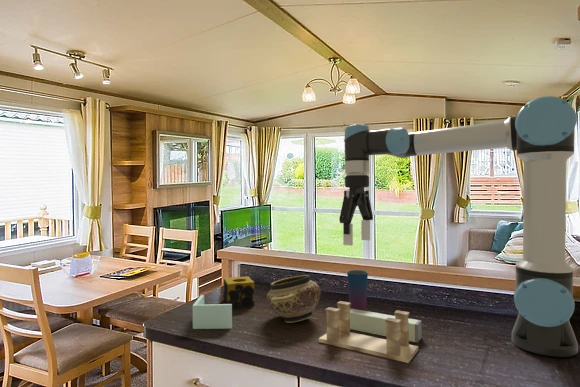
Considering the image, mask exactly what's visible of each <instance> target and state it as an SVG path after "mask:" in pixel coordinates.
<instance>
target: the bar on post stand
mask: <svg viewBox="0 0 580 387" xmlns="http://www.w3.org/2000/svg"><path fill="white" fill-rule="evenodd" d="M336 305H337V308H336V307H331V306H330V307H329V306H328V307H327V308H325V312H326V333H325V334H323V335H321V336H320V337H319V338H318V343H322V344H326V345H330V346H334V347H339V348H343V349H348V350H351V351H355V352H358V353H364V354H368V355H371V356H372V355H373V356H376V357H381V358H385V359H389V360H394V361H398V362H403V363H406V364H409V363H410V362H411V360H412V359H413V358H414V357H415V355H416V354H417V353H418V352H419V346H418V345H413V344H410V341H409V322H408V318H409V315H410V312H409V311H404V310H403V311H402V310H397V309H396V310H395V311H394V312H393V314H394V315H393V316H395V319H394V318H387V319H386V320H385V322H386V336H385V337H386V339H385V338H380V337H376V336H371V335H366V334H363V333H362V334H360V333H358V332H357V333H356V332H351V329H350V305H351V303H349V301H342V300H339V301H338V302H336Z"/></svg>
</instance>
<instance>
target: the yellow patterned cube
mask: <svg viewBox="0 0 580 387" xmlns="http://www.w3.org/2000/svg"><path fill="white" fill-rule="evenodd" d="M222 298H223V299H222V300H223V304H232V309H236V308H238V309H239V308H245V307H246V308H247V307H253V306H255V281H254V280H252V279H251V277H250V276H248V275H247V276H233V277H223V296H222Z"/></svg>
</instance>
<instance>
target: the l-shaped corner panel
mask: <svg viewBox="0 0 580 387" xmlns="http://www.w3.org/2000/svg"><path fill="white" fill-rule="evenodd" d="M192 329H193V330H194V329H196V330H197V329H198V330H199V329H200V330H204V329H205V330H207V329H208V330H209V329H211V330H213V329H216V330H217V329H220V330H221V329H223V330H225V329H233V308H232V304H225V303H222V304H220V303H217V304H214V303H213V304H205V295H204V294H200V296H199V297H198V298H197V300H196V301H195V302H193V304H192Z"/></svg>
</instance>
